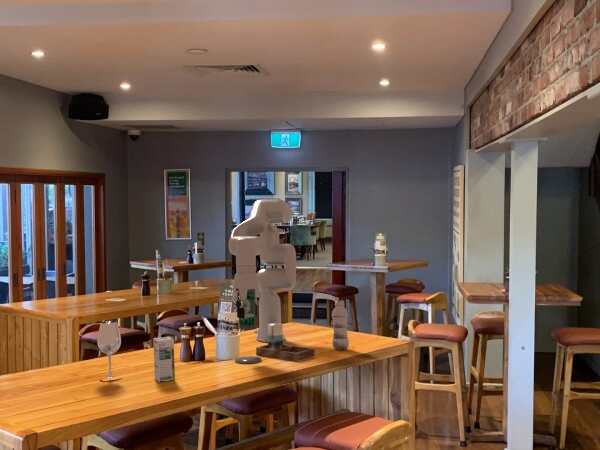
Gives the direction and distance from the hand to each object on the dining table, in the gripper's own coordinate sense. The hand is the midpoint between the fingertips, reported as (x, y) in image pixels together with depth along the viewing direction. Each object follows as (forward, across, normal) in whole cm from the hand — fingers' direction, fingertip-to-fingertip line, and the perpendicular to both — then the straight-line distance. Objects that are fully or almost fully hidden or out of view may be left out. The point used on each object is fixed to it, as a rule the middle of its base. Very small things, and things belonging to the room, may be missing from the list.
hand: (247, 316), depth 259 cm
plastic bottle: (+17, -36, +18) cm, 44 cm away
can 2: (+17, -15, +1) cm, 23 cm away
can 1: (+5, 0, 0) cm, 5 cm away
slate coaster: (+17, 0, 0) cm, 17 cm away
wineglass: (+18, +47, -22) cm, 55 cm away
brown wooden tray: (+17, -15, +6) cm, 24 cm away
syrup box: (+18, +37, -5) cm, 41 cm away
